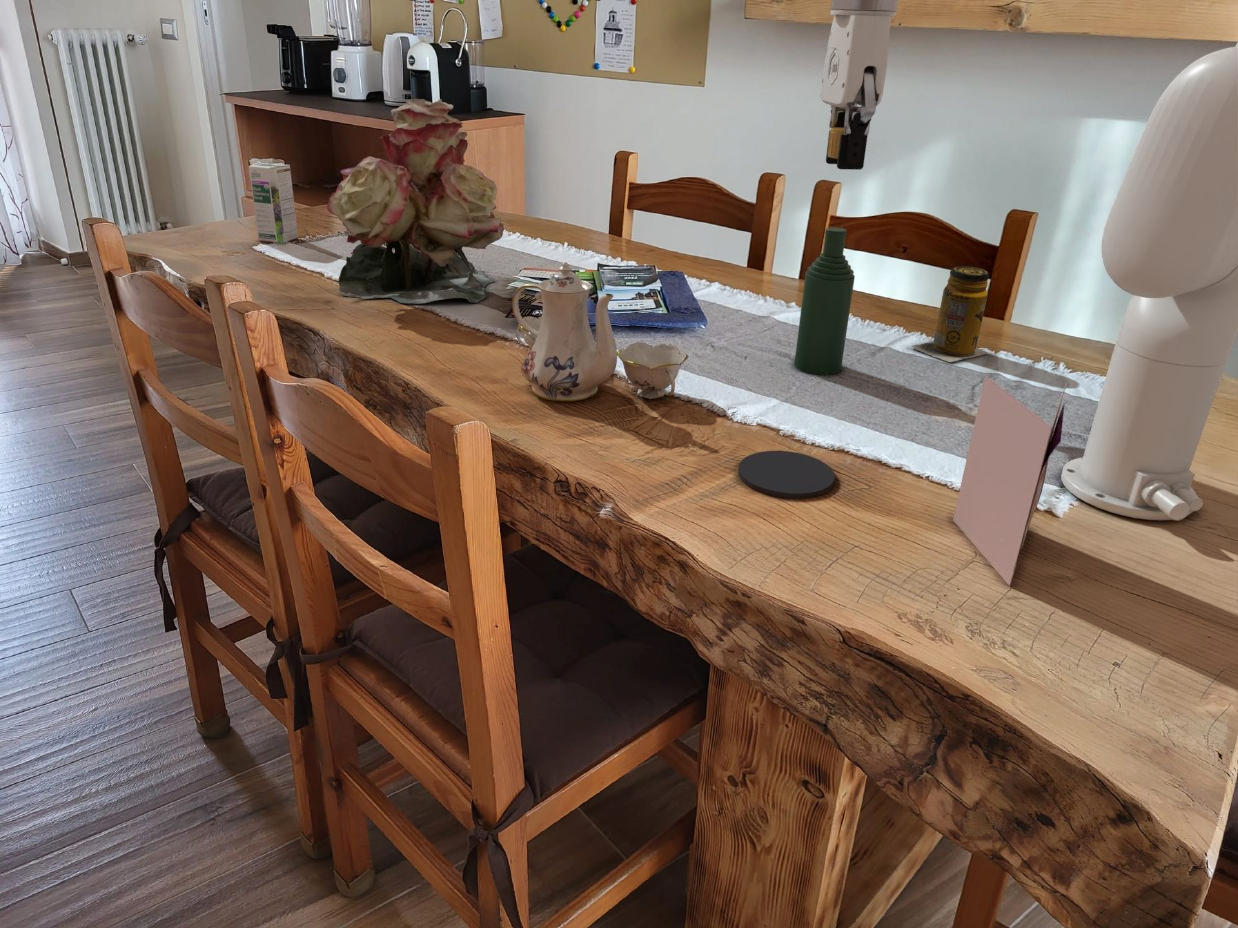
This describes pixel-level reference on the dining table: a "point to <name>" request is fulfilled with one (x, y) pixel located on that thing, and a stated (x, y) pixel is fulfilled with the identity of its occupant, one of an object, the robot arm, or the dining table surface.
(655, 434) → the dining table surface
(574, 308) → the chinaware
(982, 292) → the condiment
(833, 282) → the bottle
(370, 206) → the rose bouquet
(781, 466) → the coaster
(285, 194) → the syrup box
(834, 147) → the cap
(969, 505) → the greeting card
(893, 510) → the dining table surface
